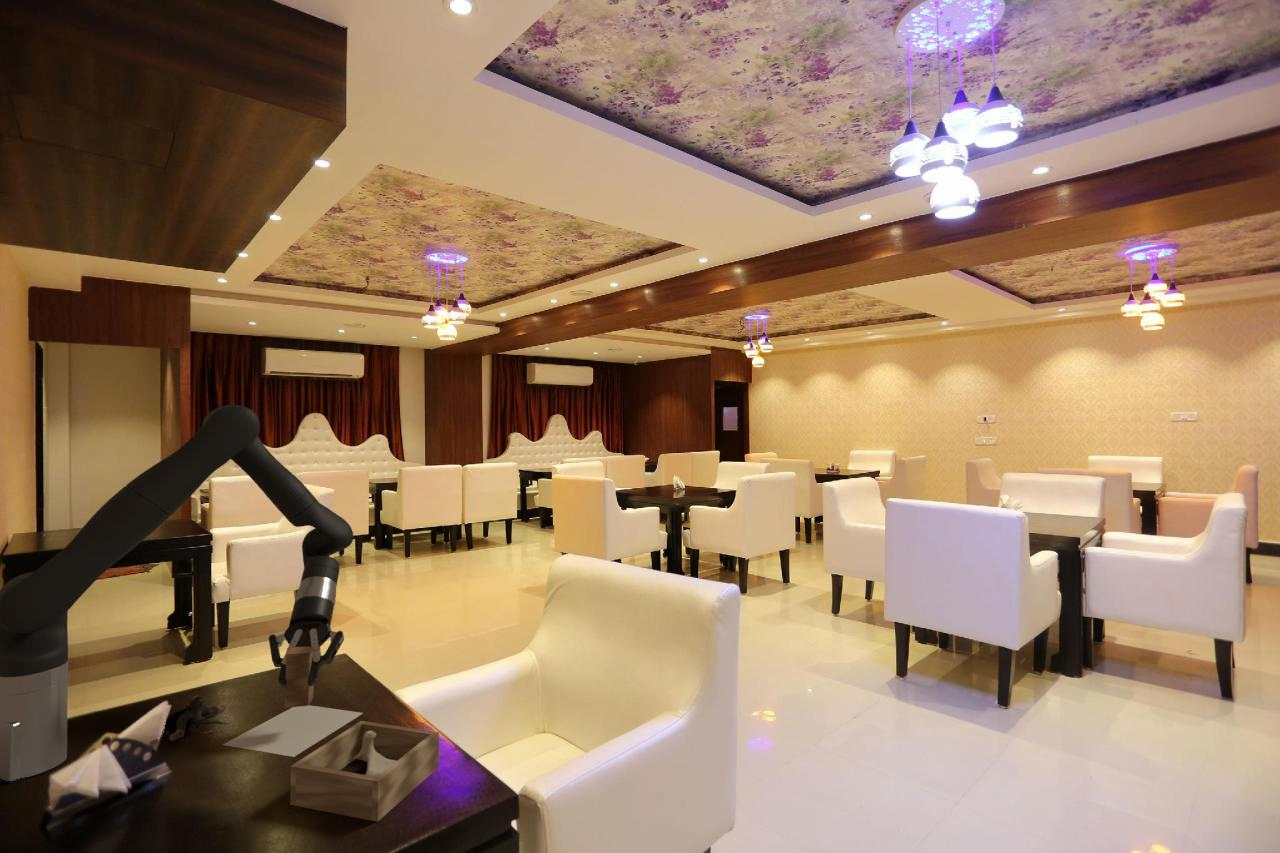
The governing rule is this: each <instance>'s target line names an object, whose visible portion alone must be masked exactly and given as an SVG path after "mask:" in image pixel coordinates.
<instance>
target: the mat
mask: <svg viewBox="0 0 1280 853" xmlns="http://www.w3.org/2000/svg"><path fill="white" fill-rule="evenodd" d="M361 715H364V713H363V712H359V711H354V710H353V711H352V710H345V709H338V708H330V707H323V706H318V705H315V706H314V705H310V704H309V705H308V706H300V707H289V709H287V710H285V711H283V712H281V713H280V714H277V715H276V716H274V717H272V718H269V719H268V720H267V721H264V722H263V723H260V724H259V725H257V726H254V727H253V728H251V729H250V730H247V731H246V732H243V733H242V734H240V735H238V736H236V737H234V738H232V739H230V740H229V741H227V742H225V743H222V746H228V747H233V748H238V749H243V750H250V751H256V752H262V753H267V754H273V755H278V756H279V755H280V756H285V757H290V758H291V757H292V758H295V757H297V755H299V754H301V753H303V752H304V751H306V750H307V749H309V748H310V747H312V746H313V745H315V744H317V743H319V742H320V741H322V740H323V739H325V738H326V737H328V736H330V735H331V734H333V733H334V732H336V731H338V730H340V728H342V727H344V726H345V725H347V724H349V723H350V722H352V721H354V720H355V719H356V718H358V717H360V716H361Z"/></svg>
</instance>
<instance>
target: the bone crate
mask: <svg viewBox="0 0 1280 853" xmlns="http://www.w3.org/2000/svg"><path fill="white" fill-rule="evenodd" d="M367 731H373V732H375V733H376V736H375V738H374V740H373V746H374V749H375V751H376V752H377V753H380V754H381V755H383V756H385V758H387V759H390V760H395V761H396V762H395V763H394V764H393V765H391V766H390V767H389V768H387V769H386V770H385V771H384V772H382V773H381V774H380V775H379V776H377V777H374V776H368V775H365V774H362V773H361V774H360V773H355V772H351V771H345V770H342V769H344V768H345V767H347V766H348V765H350V764H351V763H352V762H355V760H356V759H354V757H355V756H356V755H358V754H359V752H360V751H361V749H362V745H363V736H364V734H365V733H366V732H367ZM439 765H440V731H432V730H427V729H426V730H425V729H420V728H419V729H418V728H413V727H406V726H400V725H390V724H385V723H378V722H373V721H372V722H371V721H365V720H360V721H359V722H357V723H356V724H354V725H352V726H351V727H350V728H348V729H346V730H344V731H343V732H341V733H340V734H338V735H337V736H336V737H333V738H332V739H331V740H329V741H327V742H326V743H325V744H323V745H321V746H320V747H318V748H316V749H315V750H313V751H312V752H311V753H309V754H307V755H306V756H304V757H303V758H301V759H300V760H298V761H297V762H294V763H293V764H292V765H290V784H289V787H290V790H289V792H290V803H289V805H291V806H295V807H300V808H306V809H309V810H310V809H311V810H315V811H320V812H327V813H331V814H337V815H341V816H347V817H352V818H357V819H362V820H368V821H371V822H372V821H373V822H379V821H380V820H382V818H384V817H385V816H386V815H387V814H388V813H389V812H390V811H391V810H392V809H394V808H395V807H396V806H397V805H398V804H399V803H400V802H402V801H403V800H404V799H405V798H406V797H407V796H408V795H409V794H411V792H413V791H414V790H415V789H416V788H417V787H419V785H420V784H422V783H423V782H424V781H425V780H426V779H427V778H428V777H429V776H430V775H432V774H433V773H434V772H435V771H436V770H437V769H439V768H440V767H439Z"/></svg>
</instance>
